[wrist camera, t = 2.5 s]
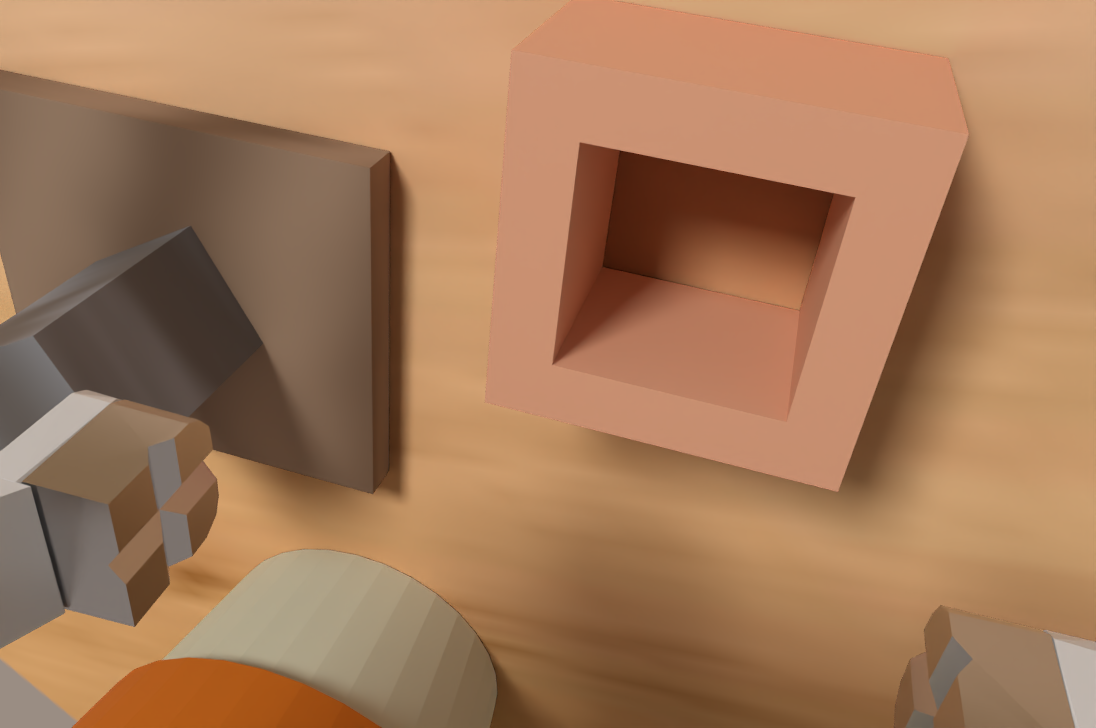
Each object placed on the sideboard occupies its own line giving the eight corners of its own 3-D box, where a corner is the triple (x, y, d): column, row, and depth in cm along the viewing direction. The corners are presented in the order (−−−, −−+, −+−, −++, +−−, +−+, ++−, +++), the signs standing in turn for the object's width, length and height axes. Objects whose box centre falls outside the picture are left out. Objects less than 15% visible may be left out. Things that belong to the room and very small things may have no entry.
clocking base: (389, 151, 20) (238, 278, 15) (389, 470, 25) (274, 641, 20) (-12, 67, 22) (-263, 157, 17) (63, 381, 27) (-113, 519, 22)
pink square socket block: (948, 58, 16) (968, 134, 13) (842, 372, 20) (838, 491, 17) (577, -6, 17) (511, 50, 14) (543, 302, 21) (485, 402, 18)
